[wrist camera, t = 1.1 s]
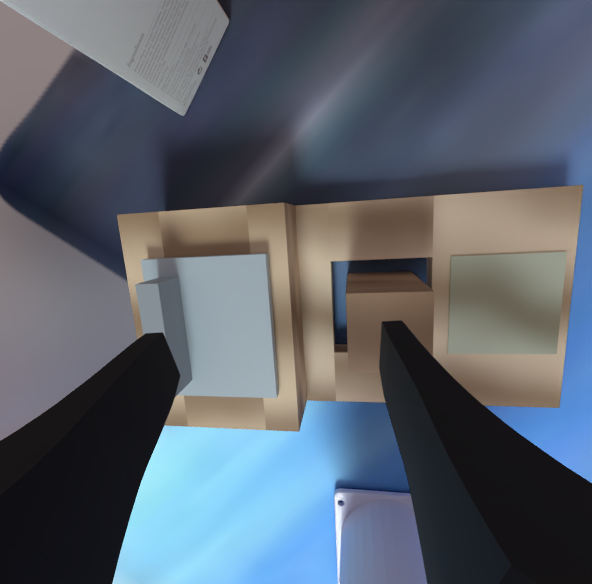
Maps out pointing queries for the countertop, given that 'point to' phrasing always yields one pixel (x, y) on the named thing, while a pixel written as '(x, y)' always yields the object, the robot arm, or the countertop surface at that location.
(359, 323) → the walnut block
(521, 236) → the puzzle board
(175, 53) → the small box
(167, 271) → the lid
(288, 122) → the countertop surface
